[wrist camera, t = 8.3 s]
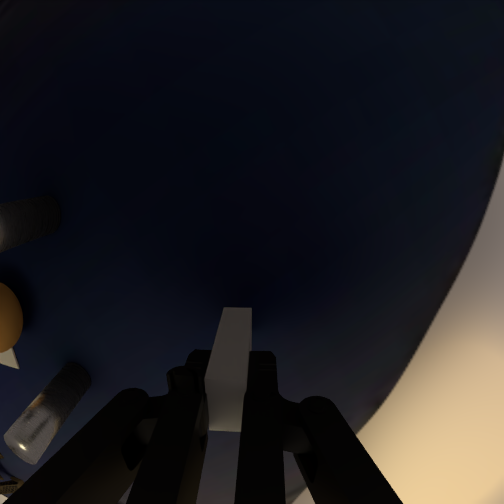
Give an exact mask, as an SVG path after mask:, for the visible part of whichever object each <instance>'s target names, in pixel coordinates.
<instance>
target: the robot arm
mask: <svg viewBox="0 0 504 504" xmlns="http://www.w3.org/2000/svg"><path fill="white" fill-rule="evenodd" d="M251 343H252V308H232V307H224V309H223V312H222V316H221V320H220V323H219V327H218V331H217V334H216V338H215V342H214V345H213V349H212V350H197V349H195V350H194V351H193V352H192V353H190V354H189V356H188V358H187V361H186V363H185V366H178V367H175V368H173V369H171V370H169V371H168V372H167V374H166V376H167V382H168V388H169V392H168V394H166V395H163V396H157V397H149V396H148V394H147V393H146V392H145V391H144V390H142V389H138V388H128V389H125V390H122V391H121V392H119V393H118V394H117V395H116V396H115V397H114V398H113V399H112V400H111V401H110V402H109V403H108V404H107V405H106V406H104V407H103V408H102V409H101V410H100V411H99V412H98V413H97V414H96V415H95V416H94V417H93V418H92V419H91V420H90V421H89V422H88V423H87V424H86V425H85V426H84V427H83V428H82V429H81V430H79V431H78V432H77V433H76V434H75V435H74V436H73V437H72V438H71V439H70V440H69V441H68V442H67V443H66V444H65V445H64V446H63V447H62V448H61V449H60V450H59V451H58V452H56V453H55V454H54V455H53V456H52V457H51V458H50V459H49V460H48V461H47V462H46V463H45V464H44V465H43V466H42V467H41V468H40V469H39V470H38V471H36V472H35V473H34V474H33V475H32V476H31V477H30V478H29V479H28V480H27V481H26V482H25V483H24V484H23V485H22V486H21V487H20V488H18V489H17V490H16V491H15V492H14V493H13V494H12V495H11V496H10V497H9V498H8V499H7V500H6V501H5V502H4V503H3V504H117V502H118V501H119V500H120V498H121V497H122V496H123V495H124V493H125V492H126V491H127V489H128V488H129V487H130V485H131V484H132V483H133V481H134V483H133V486H132V488H131V491H130V494H129V496H128V499H127V502H126V504H196V500H197V495H198V489H199V484H200V479H201V473H202V468H203V463H204V458H205V452H206V447H207V442H208V434H207V429H208V424H209V430H216V431H234V432H241V435H240V446H239V457H238V469H237V480H236V491H235V502H234V504H286V501H285V481H284V461H283V450H284V451H288V452H293V455H294V458H295V460H296V462H297V465H298V467H299V469H300V471H301V474H302V476H303V478H304V480H305V482H306V485H307V487H308V489H309V491H310V493H311V495H312V498H313V500H314V502H315V504H403V503H402V501H401V500H400V499H399V497H398V496H397V494H396V493H395V491H394V490H393V489H392V487H391V486H390V484H389V483H388V481H387V480H386V479H385V477H384V476H383V474H382V473H381V471H380V470H379V468H378V467H377V466H376V464H375V463H374V461H373V460H372V458H371V457H370V455H369V454H368V453H367V451H366V450H365V448H364V447H363V445H362V444H361V442H360V441H359V439H358V438H357V437H356V435H355V434H354V432H353V431H352V429H351V428H350V426H349V425H348V423H347V422H346V420H345V419H344V418H343V416H342V415H341V413H340V412H339V410H338V409H337V407H336V406H335V404H334V403H333V402H332V401H331V400H330V399H327V398H325V397H321V396H311V397H308V398H305V399H304V400H302V401H301V402H300V403H295V402H291V401H288V400H286V399H284V398H283V397H282V396H281V395H280V394H279V392H278V383H277V367H276V357H275V356H274V354H273V353H272V352H271V351H251Z"/></svg>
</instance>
